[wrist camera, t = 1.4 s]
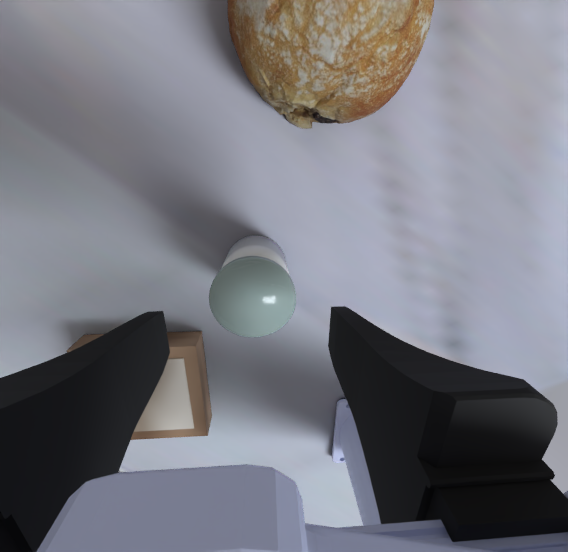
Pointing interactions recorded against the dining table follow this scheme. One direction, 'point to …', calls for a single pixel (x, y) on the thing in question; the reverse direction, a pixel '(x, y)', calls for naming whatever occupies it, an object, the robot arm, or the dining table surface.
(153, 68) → the dining table surface
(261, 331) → the canister
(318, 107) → the bread roll
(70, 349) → the base block
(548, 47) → the dining table surface
